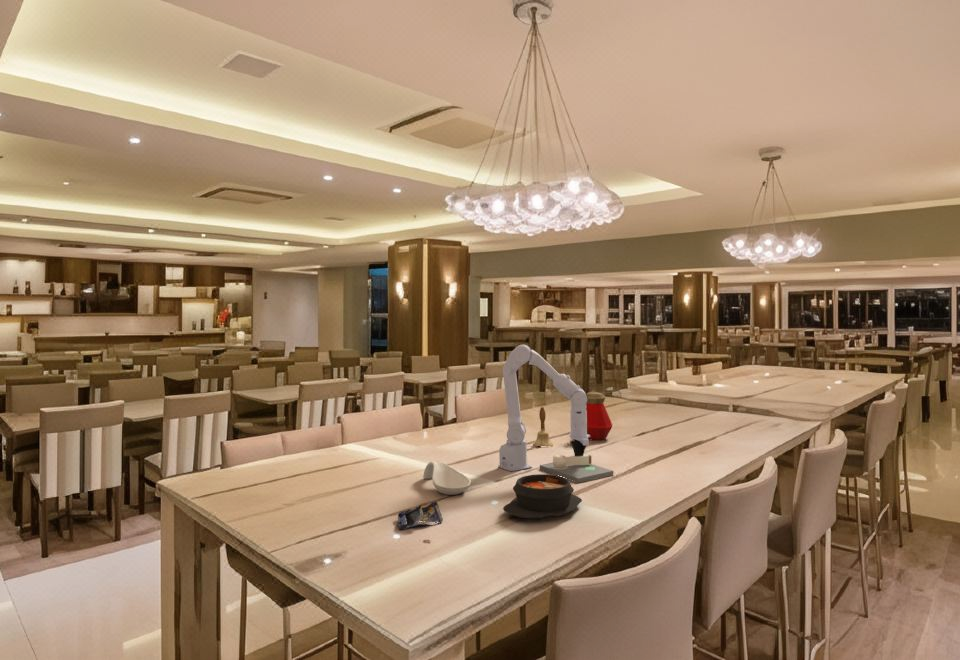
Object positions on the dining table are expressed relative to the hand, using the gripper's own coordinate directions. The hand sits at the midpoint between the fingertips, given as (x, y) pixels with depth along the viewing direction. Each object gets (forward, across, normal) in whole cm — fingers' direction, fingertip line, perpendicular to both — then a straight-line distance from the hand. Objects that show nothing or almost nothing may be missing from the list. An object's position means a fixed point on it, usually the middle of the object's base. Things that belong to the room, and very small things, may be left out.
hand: (579, 461), depth 205 cm
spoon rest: (+3, -11, +50) cm, 51 cm away
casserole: (+3, -39, +25) cm, 46 cm away
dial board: (+3, -4, +3) cm, 5 cm away
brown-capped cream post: (+1, -1, +3) cm, 3 cm away
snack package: (+3, -42, +60) cm, 74 cm away
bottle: (+3, +46, -24) cm, 52 cm away
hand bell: (+3, +39, +2) cm, 39 cm away
